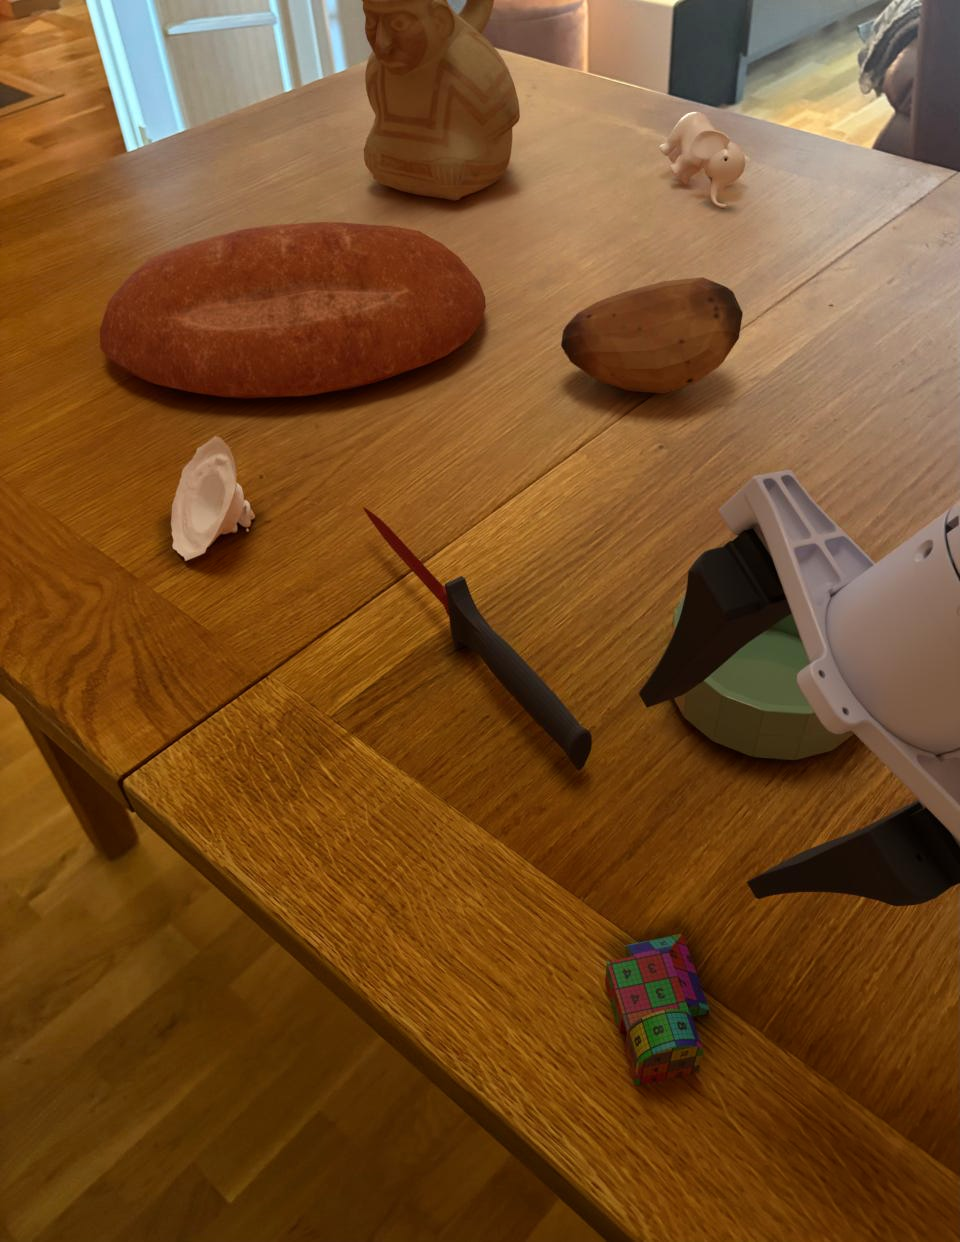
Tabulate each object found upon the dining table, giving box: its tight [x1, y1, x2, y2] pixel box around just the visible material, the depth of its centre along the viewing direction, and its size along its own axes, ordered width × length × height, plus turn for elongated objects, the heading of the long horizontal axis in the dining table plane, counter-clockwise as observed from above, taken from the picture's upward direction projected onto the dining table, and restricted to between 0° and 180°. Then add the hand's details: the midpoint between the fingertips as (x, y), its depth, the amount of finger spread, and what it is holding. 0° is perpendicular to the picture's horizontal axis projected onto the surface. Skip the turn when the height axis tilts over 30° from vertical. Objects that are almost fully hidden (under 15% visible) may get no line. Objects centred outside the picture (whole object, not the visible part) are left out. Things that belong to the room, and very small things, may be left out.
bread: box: [99, 221, 487, 399], centre depth 84 cm, size 23×32×9 cm
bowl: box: [669, 592, 855, 761], centre depth 57 cm, size 11×11×4 cm
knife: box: [362, 506, 593, 771], centre depth 60 cm, size 24×2×5 cm, turn 33°
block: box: [604, 933, 711, 1087], centre depth 44 cm, size 6×4×3 cm
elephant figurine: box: [659, 111, 751, 209], centre depth 102 cm, size 7×12×6 cm
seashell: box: [170, 435, 256, 562], centre depth 68 cm, size 8×5×8 cm
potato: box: [560, 277, 744, 394], centre depth 77 cm, size 8×13×8 cm
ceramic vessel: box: [361, 0, 521, 201], centre depth 99 cm, size 17×20×25 cm
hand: (712, 784), depth 37 cm, fingers open, 7 cm apart
